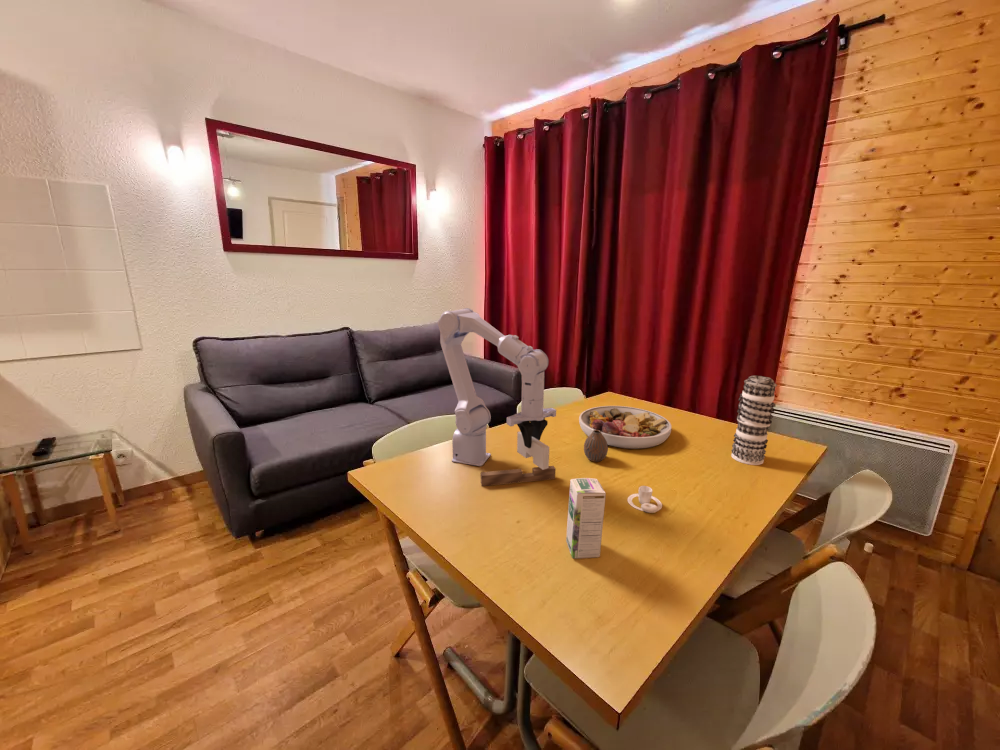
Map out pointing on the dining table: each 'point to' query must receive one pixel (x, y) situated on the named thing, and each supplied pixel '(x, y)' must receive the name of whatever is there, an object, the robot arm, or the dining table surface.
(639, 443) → the bowl
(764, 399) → the decorative candle
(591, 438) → the vase
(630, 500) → the teacup and saucer
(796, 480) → the dining table surface
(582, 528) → the syrup box
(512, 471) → the walnut rail
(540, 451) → the notched white slab
